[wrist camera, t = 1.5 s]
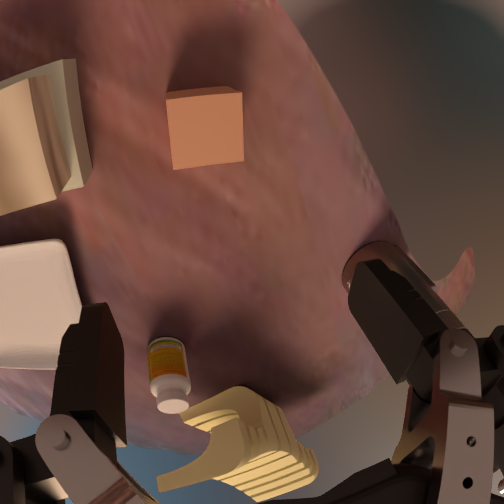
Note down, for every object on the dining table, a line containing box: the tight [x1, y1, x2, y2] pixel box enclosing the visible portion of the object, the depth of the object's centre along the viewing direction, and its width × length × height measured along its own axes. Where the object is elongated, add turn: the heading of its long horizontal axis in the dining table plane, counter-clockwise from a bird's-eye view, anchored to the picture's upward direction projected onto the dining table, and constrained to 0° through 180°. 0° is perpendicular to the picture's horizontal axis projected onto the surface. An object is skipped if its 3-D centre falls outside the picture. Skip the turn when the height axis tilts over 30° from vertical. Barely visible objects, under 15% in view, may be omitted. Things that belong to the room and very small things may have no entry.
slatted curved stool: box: [157, 386, 319, 502], centre depth 50 cm, size 30×16×18 cm, turn 30°
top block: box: [0, 74, 71, 216], centre depth 18 cm, size 9×9×4 cm
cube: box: [166, 86, 244, 170], centre depth 25 cm, size 6×6×6 cm
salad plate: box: [0, 239, 82, 370], centre depth 31 cm, size 21×21×3 cm
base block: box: [0, 59, 93, 192], centre depth 21 cm, size 11×11×4 cm
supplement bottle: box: [148, 337, 191, 414], centre depth 39 cm, size 5×5×10 cm
